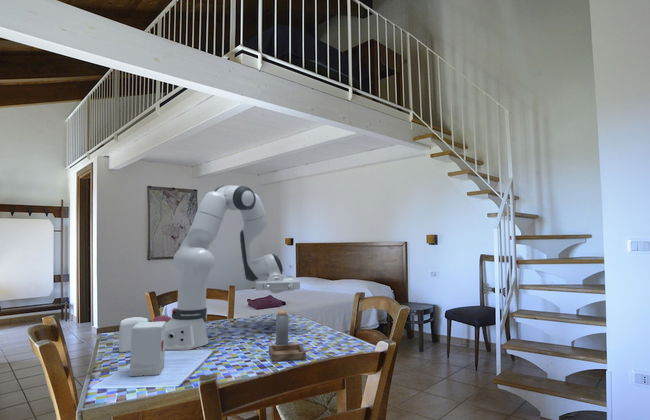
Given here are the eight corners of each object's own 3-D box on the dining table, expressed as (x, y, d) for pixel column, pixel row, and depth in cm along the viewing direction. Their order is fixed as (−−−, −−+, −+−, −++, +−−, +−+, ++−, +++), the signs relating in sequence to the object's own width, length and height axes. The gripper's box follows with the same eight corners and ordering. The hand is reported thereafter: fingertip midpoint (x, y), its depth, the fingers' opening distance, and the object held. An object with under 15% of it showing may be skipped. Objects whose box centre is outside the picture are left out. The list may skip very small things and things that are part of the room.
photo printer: (117, 353, 148) (119, 319, 149) (119, 350, 152) (120, 317, 153) (148, 350, 152) (149, 317, 153) (148, 347, 156) (149, 315, 157)
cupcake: (167, 333, 179) (168, 306, 180) (148, 333, 179) (149, 306, 180) (174, 329, 187) (175, 303, 188) (156, 328, 187) (157, 302, 188)
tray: (271, 361, 140) (272, 354, 140) (268, 352, 151) (269, 345, 151) (305, 359, 142) (305, 352, 142) (300, 350, 154) (300, 343, 154)
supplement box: (159, 375, 125) (161, 326, 126) (128, 377, 123) (130, 327, 124) (165, 366, 134) (166, 320, 135) (136, 367, 132) (138, 321, 133)
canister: (276, 347, 158) (276, 312, 159) (275, 343, 163) (275, 310, 164) (288, 346, 160) (289, 311, 160) (287, 343, 164) (287, 309, 165)
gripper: (253, 277, 187) (255, 280, 173) (297, 276, 191) (302, 279, 178) (253, 290, 186) (255, 295, 173) (297, 289, 191) (302, 293, 178)
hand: (279, 287), depth 176 cm, fingers open, 8 cm apart
